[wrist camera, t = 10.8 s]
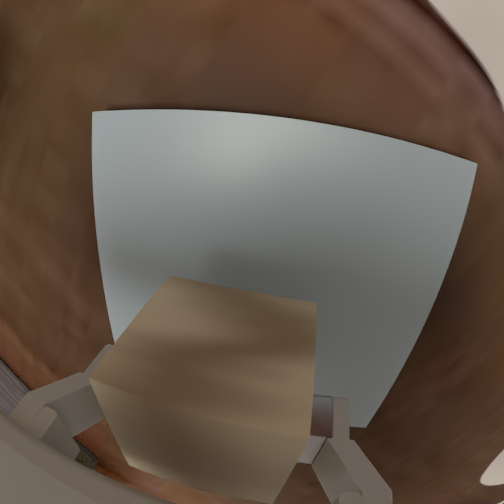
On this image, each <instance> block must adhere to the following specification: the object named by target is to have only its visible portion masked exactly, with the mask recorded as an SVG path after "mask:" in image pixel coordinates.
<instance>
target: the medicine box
mask: <svg viewBox="0 0 504 504" xmlns="http://www.w3.org/2000/svg"><path fill="white" fill-rule="evenodd" d="M28 392H30V390H29V389H28V388H27V387H26V386H25V385H24V384H23V383H22V382H21V381H20V380H19V379H18V378H17V377H16V376H15V375H14V374H13V373H12V371H11V370H10V369H9V368H8V367H7V366H6V365H5V364H4V363H3V362H2V360H1V359H0V411H1V412H2V413H4V414H5V415H6V416H7V417H8V416H9V414H10V413H11V412H12V411H13V409H14V408H15V407H16V406H17V404H18V403H19V402H20V401H21V399H22V398H23V397H24V396H25V395H26V393H28Z"/></svg>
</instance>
